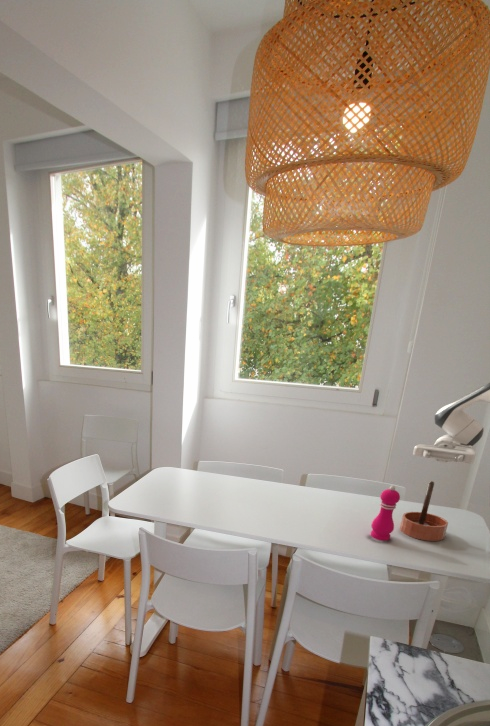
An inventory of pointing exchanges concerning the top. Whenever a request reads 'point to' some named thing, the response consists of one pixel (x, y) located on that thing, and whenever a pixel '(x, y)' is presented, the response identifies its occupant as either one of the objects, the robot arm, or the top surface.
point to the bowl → (423, 526)
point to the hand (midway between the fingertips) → (441, 457)
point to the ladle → (426, 503)
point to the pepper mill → (385, 515)
